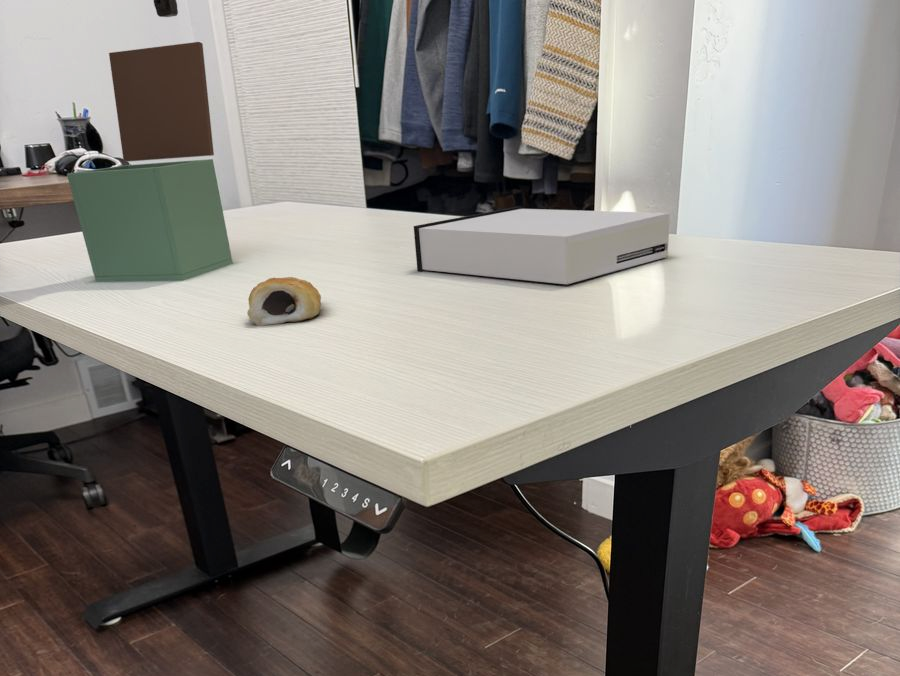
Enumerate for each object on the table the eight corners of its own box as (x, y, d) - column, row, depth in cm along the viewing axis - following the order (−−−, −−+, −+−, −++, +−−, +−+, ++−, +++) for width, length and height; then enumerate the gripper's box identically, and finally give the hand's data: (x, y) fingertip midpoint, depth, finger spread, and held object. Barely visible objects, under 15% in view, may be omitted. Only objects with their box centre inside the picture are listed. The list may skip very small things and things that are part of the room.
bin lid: (198, 41, 105) (202, 43, 106) (108, 52, 110) (112, 54, 110) (210, 154, 110) (214, 155, 110) (123, 161, 114) (127, 161, 115)
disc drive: (519, 248, 110) (518, 205, 108) (668, 258, 95) (671, 209, 93) (416, 272, 100) (412, 226, 98) (565, 288, 85) (565, 234, 83)
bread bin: (183, 281, 107) (158, 167, 101) (95, 283, 112) (66, 173, 105) (233, 264, 117) (213, 159, 110) (150, 266, 121) (126, 165, 115)
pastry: (263, 308, 88) (257, 268, 87) (328, 303, 88) (323, 263, 86) (248, 328, 80) (240, 286, 78) (319, 323, 80) (313, 280, 78)
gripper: (140, -146, 107) (174, 21, 115) (66, -168, 96) (110, 17, 105) (190, -157, 104) (221, 14, 113) (120, -182, 94) (160, 10, 102)
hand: (167, 16), depth 109 cm, fingers closed
